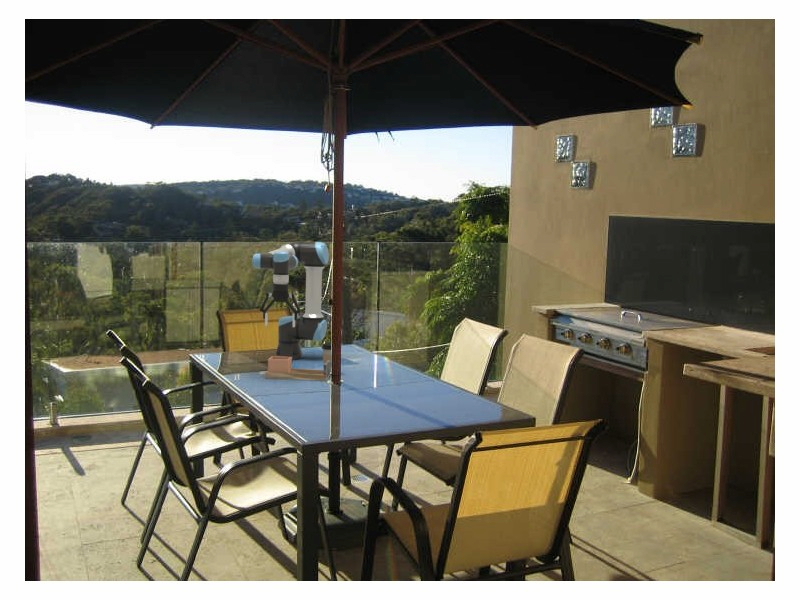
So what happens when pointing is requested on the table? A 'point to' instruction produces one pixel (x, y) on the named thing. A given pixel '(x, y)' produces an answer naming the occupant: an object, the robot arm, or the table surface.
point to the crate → (280, 364)
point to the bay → (303, 374)
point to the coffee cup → (327, 353)
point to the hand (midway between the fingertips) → (280, 326)
